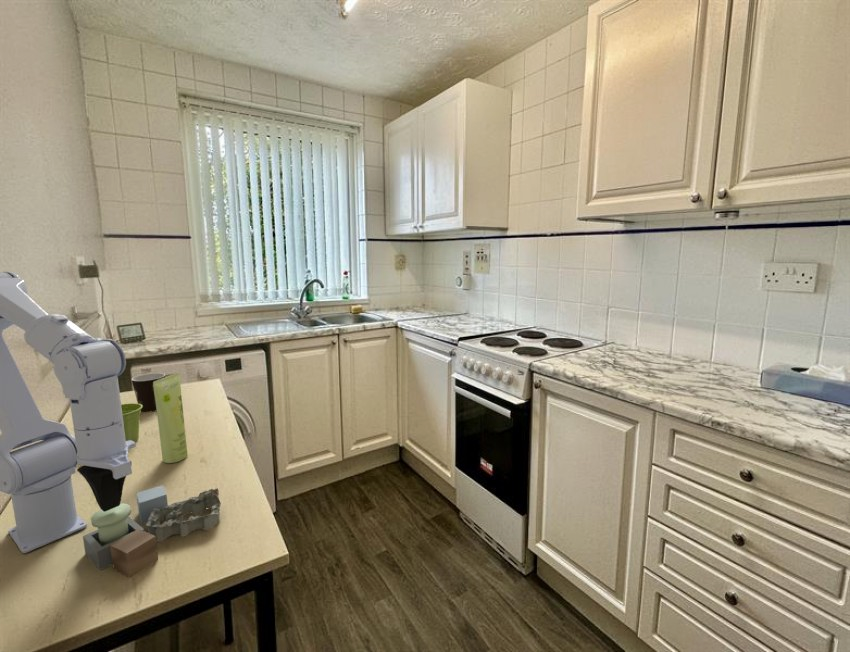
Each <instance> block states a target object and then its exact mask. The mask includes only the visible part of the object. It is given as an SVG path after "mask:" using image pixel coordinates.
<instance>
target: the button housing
mask: <svg viewBox="0 0 850 652" xmlns="http://www.w3.org/2000/svg"><path fill="white" fill-rule="evenodd" d="M127 523H128V531H129V534H131V533H133V532H135V531H136V530H138V529H140V530H143V531H145V529H144V528H143V527H142V526H141V525H140V524H138V522H136V521H135V520H134V519H132V518H131V517H130V515H129V516H128V517H127ZM129 534H127V535H129ZM127 535H125V536H123V537H121V538H119V539H117V540H115V541H112V542H110V543H108V544H106V545H104V546H101V545H100V541H99V534H98V529H95V530H94V531H91V532H89V533H87V534H85V535H83V536H82V539H83V546H84V554H85V556H87V557H88V559H89V560H91V562H92V563H93V564H94V565H95V566H96V568H97V569H98V570H99V571H101V570H104V569H105V568H107V567H109V566H112V565H113V563H112V555H111V548H110V545H112V544H113V543H115V542H117V541H119V540H120V539H122V538H124V537H126V536H127Z"/></svg>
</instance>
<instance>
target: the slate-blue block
mask: <svg viewBox="0 0 850 652" xmlns="http://www.w3.org/2000/svg"><path fill="white" fill-rule="evenodd" d="M136 501H137V509H138V510H137V511H138V515H139V519H140V523H141V525H144V524H147V521H148V519H149V516H150V514H151V512H152V510H153V509H155V508H161V509H162V508H163V507H167V506H169V504H168V496H167V492H166V490H165V487H164V485H163V484H162V485H160V486H159V485H158V486H156V487H152V488H149V489H146V490H142V491H139V492H137V493H136Z"/></svg>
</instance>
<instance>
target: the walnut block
mask: <svg viewBox="0 0 850 652" xmlns="http://www.w3.org/2000/svg"><path fill="white" fill-rule="evenodd" d="M157 545H158V544H157V541H156V536H154V535H152V534H150V533H149V532H148V531H145V530H144V531H143V530H140V529H138V530H136V531H135V532H133V533H131V534H129V535H127V536H126V537H124V538H122V539H120V540H119V541H117V542H115V543H113V544H112V545H110V548H111V555H112V563H113V564H112V567H113V568H112V569H113V570H114V571H115V572H117V573H120V574H121V575H123V576H125V577H128V578H129V579H132V577H134V576H136V575H137V574H139V573H140V572H142V571H143V570H145V569H146V568H148V567H149V566H150V565H153V564H154V563H155V562H157V561H158V560H159V553H158V546H157Z"/></svg>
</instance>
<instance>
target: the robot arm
mask: <svg viewBox="0 0 850 652" xmlns="http://www.w3.org/2000/svg"><path fill="white" fill-rule="evenodd" d="M14 325H15V326H16V327H18V328H19V329H21V330H23V331H24V336H23V337H24V341H25V342H26V343H27V345H28V346H30V347H31V348H32V349H34V350H35V351H36V352H37V353H39V354H41V356H43V357H44V358H46V359H47V360H48V361H49V362H51V363H52V364H53V366H52V367H53V372H54V375H55V376H56V378H57V380H58V381H59V383H60V385H61V387H62V393H63V395H64V397H65V399H68V400H69V405H70V411H71V417H72V418H71V419H72V424H73V431H74V432H73V433H74V435H73V434H72V433H71V431H70V430H69V429H68V427H67V424H65V423H63V422H60V421H59V422H58V421H53V420H49V419H46V418H43V415H42V413H41V411H40V409H39V407H38V405H37V403H36V401H35V399H34V397H33V395H32V393H31V390H30V389H29V387H28V385H27V383H26V381H25V378H24V377H23V374H22V373H21V371H20V369H19V368H20V367H18V365H17V362H16V361H15V360H16V359H14V357H13V354H12V352H11V350H10V348H9V346H8V344H7V342H6V341H5V338H4V336H3V332H4V330H7V329H8V328H10V327H12V326H14ZM126 360H127V359H126V354H125V352H124V349H122V347H121V345H120V344H119V343H117V342H116V340H114V339H113V338H104V339H103V338H101V337H97V338H96V337H95V338H94V337H93V336H92V335H90V334H89V333H88V332H87V331H85V330H84V329H82V328H81V327H79V326H78V325H76V324H75V323H74V322H73V321H71V320H70V319H69V318H68V317H67V316H66V315H64V314H54V313H51V314H49V313H47V311H46V310H44V308H42V307H41V306H40V305H39V304H38V303H37V302H35V301H34V299H32V298H31V296H29V295H28V290H27V285H26V281H25V280H24V279H22V278H21V277H20V276H19V275H17V274H16V273H15V272H13V271H3V272H0V432H1V433H0V492H1V493H4V494H7V495H10V497H11V503H12V504H11V505H12V510H13V516H14V521H15V526H13V527H11V528H9V529H8V532H7V533H8V534H9V535H10V537H11V538H12V540H13V541H14V543H15V544H16V545H17V547H18V549H19V550H20V552H21V553H22V554H27V553H29V552H31V551H33V550H36V549H38V548H40V547H44V546H45V545H47V544H50V543H52V542H55V541H57V540H59V539H61V538H64V537H66V536H68V535H69V536H70V535H71V534H74V533H76V532H78V531H80V530H83V529H86V528H87V527H88V525H87V522H85V520H84V519H83V518H82V517H81V516H80V515H78V514H77V507H76V501H75V495H74V487H73V482H72V475H74V474H76V467H78V466H79V465H80V466H79V467H78V468H77V472H78V473H79V474H80V475H81V476H82V477H83V479H84V480H85V481H86V482H87V484H88V485H89V487H90V489H91V492H92V493H93V496H94V498H95V500H96V503H97V505H98V507H99V508H100V510H101V509H102V510H103V511H104V512H105V511H108V510H110V509H113V508H115V507H118V506H119V505H120V504H121V502H122V497H123V489H124V486H125V482H126V478H127V476H129V475H131V474H132V473H133V470H132V461H131V460H130V459H129V450H131V449H134V448H136V442H134V441H132V440H129V441H126V440H125V432H124V424H123V415H122V407H121V404H122V401H121V400H122V399H121V394H120V393H121V392H120V385H119V378H118V377H119V376H121V375H122V374H123V372H124V371H125V370H126V366H127V361H126ZM32 443H33V444H32ZM26 445H27V446H26Z"/></svg>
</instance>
